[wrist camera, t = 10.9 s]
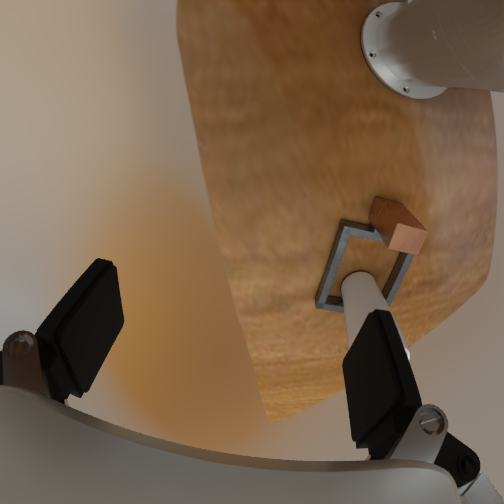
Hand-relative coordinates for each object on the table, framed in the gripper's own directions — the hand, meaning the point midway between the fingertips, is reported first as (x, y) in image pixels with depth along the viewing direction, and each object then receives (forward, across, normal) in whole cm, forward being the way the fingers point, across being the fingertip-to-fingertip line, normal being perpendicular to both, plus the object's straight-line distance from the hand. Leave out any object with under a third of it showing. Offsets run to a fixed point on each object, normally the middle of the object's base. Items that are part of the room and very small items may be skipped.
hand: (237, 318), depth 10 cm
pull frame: (+26, -16, +10) cm, 32 cm away
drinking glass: (+26, -16, +15) cm, 34 cm away
